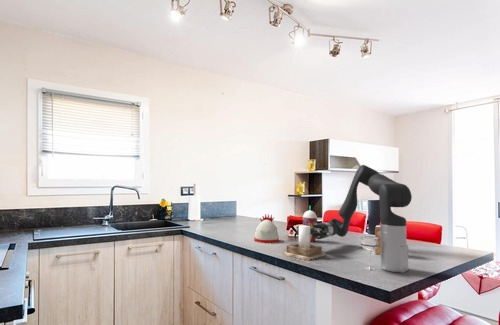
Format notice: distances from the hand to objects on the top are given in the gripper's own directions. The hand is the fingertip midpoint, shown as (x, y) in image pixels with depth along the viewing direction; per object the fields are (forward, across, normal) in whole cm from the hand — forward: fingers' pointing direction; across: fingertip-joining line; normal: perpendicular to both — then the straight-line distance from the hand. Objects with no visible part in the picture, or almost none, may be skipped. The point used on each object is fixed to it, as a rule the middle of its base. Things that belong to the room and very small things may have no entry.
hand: (304, 233), depth 143 cm
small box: (-31, +25, +10) cm, 41 cm away
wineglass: (0, +30, +10) cm, 32 cm away
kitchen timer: (-14, -34, +10) cm, 38 cm away
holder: (0, 0, +10) cm, 10 cm away
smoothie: (-32, -17, +10) cm, 37 cm away
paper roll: (0, 0, +8) cm, 9 cm away
